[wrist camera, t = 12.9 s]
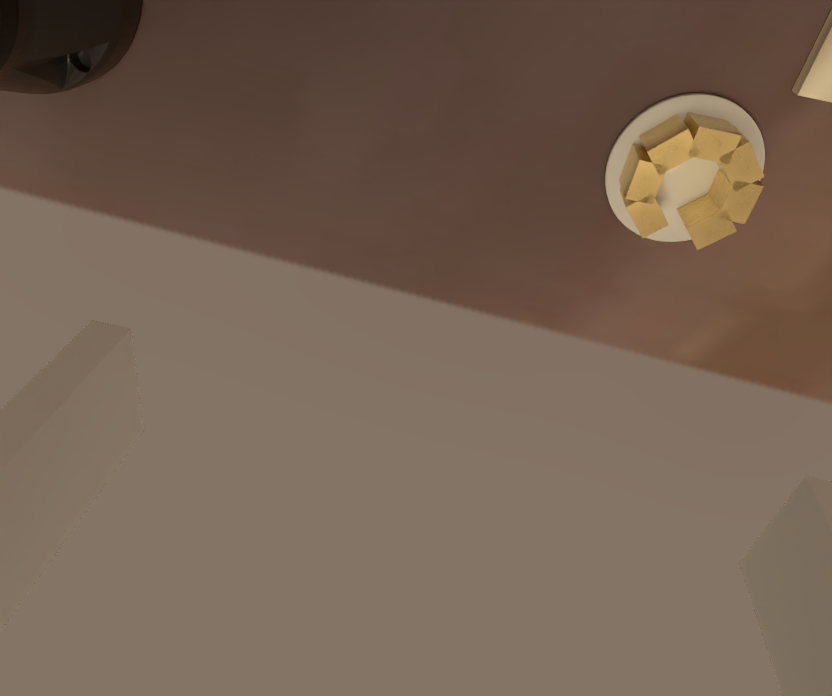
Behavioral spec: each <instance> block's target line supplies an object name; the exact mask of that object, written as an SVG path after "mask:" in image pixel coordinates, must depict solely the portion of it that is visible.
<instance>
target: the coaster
mask: <svg viewBox="0 0 832 696" xmlns="http://www.w3.org/2000/svg"><path fill="white" fill-rule="evenodd" d="M687 112H691V113H696V114H701V115H706V116H711V117H715V118H720V119H725V120H728V121H729V123H730V124H731V125H732V126H735V127H736V128H737V129H738V130H739V131H740V132H741V133H742V134H743V135H744V136H745V137H746V138H747V140H748V141H749V142H750V144H751V146H752V149H753V151H754V153H755V156H756V158H757V160H758V163H759V165H760V167H761V170H762V172H763V169H764V162H765V149H764V142H763V139H762V136H761V133H760V130H759V129H758V127H757V125H756V123H755V122H754V120H753V119H752V118H751V117H750V115H748V114H747V113H746V112H745V111H744V110H743V109H742V108H741V107H740V106H738V105H737V104H735V103H734V102H732V101H730V100H728V99H726V98H724V97H720V96H717V95H713V94H706V93H688V94H681V95H677V96H673V97H669V98H667V99H664V100H662V101H659V102H657V103H655V104H653V105H651V106H650V107H648V108H647V109H645V110H644V111H642V112H641V113H639V114H638V115H637V116H636V117H635V118H634V119H632V120H631V121H630V122H629V123H628V125H627V126H626V127H625V128H624V129H623V130H622V132H621V133H620V134H619V136H618V137H617V139H616V141H615V142H614V144H613V146H612V148H611V151H610V153H609V156H608V160H607V163H606V169H605V187H606V193H607V196H608V200H609V203H610V205H611V207H612V210H613V212H614V213H615V215H616V216H617V218H618V219H619V220H620V221H621V222H622V223H623V224H624V225H625V226H626V227H627V228H629V229H630V230H631V231H633V232H635V233H636V234H638V235H640V233H639V231H638V229H637V227H636V226H635V224H634V222H633V220H632V218H631V216H630V215H629V213H628V211H627V209H626V207H625V204H624V201H623V198H622V195H621V192H620V190H619V189H620V188H621V185H620V182H619V178H620V176H621V173H622V170H623V167H624V165H625V162H626V159H627V157H628V154H629V151H630V148H631V146H632V144H637V145H642V146H644V145H643V143H642V141H641V139H640V137H639V135H641V134H643V133H645V132H646V131H648V130H650V129H651V128H653V127H655V126H657V125H658V124H660V123H662V122H664V121H665V120H667V119H669V118H670V117H672V116H674V115H676V114H678V115H679V117H680V118H681V119H682V121H683V122H684V119H685V117H686V114H687ZM718 169H719V167H718V165H717V163H716V162H714V161H709V160H705V159H700V158H695V157H693V158H691V159H689V160H687V161H686V162H684V163H682V164H680V165H678V166H676V167H674V168H673V169H671V170H669V171H667V172H666V173H665V175H664V177H663V180H662V182H661V185H660V187H659V190H658V192H657V194H656V199H657V201H658V203H659V205H660V207H661V209H662V211H663V213H664V216H665V218H666V220H667V222H668V226H666V227H664V228H662V229H660V230H658V231H656V232H655V233H653V234H651V235H649V236H647V237H645V238H649V239H652V240H657V241H663V242H677V241H686V240H691V237H690V235H689V233H688V231H687V229H686V227H685V225H684V223H683V221H682V219H681V217H680V215H679V213H678V211H677V209H678V208H680V207H681V206H683V205H685V204H687V203H689V202H691V201H693V200H695V199H697V198H699V197H701V196H703V195H705V194H707V193H708V191H709V189H710V187H711V185H712V182H713V180H714V178H715V176H716V174H717V172H718ZM760 180H761V179H759V181H760Z"/></svg>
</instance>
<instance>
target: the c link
mask: <svg viewBox="0 0 832 696" xmlns="http://www.w3.org/2000/svg"><path fill="white" fill-rule="evenodd" d="M639 137H640V139H641V141H642V143H643V145H644V146H642V145H637V144H632V146H631V148H630V151H629V154H628V157H627V159H626V162H625V165H624V167H623V170H622V173H621V176H620V178H619V182H620V185H621V188H620V189H619V190H620V192H621V195H622V198H623V201H624V204H625V207H626V209H627V211H628V213H629V215H630V216H631V218H632V220H633V222H634V224H635V226H636V227H637V229H638V231H639V233H640V235H641V236H642V238H645V237H647V236H649V235H651V234H653V233H655V232H656V231H658V230H660V229H662V228H664V227H666V226H668V222H667V220H666V218H665V216H664V213H663V211H662V209H661V207H660V205H659V203H658V201H657V199H656V194H657V192H658V190H659V187H660V185H661V182H662V180H663V177H664V175H665V173H666V172H667V171H669V170H671V169H673V168H674V167H676V166H678V165H680V164H682V163H684V162H686V161H687V160H689V159H691V158H693V157H695V158H700V159H705V160H709V161H714V162H716V163H717V165H718V167H719V169H718V172H717V174H716V176H715V178H714V180H713V182H712V185H711V187H710V189H709V191H708V193H707V194H705V195H703V196H701V197H699V198H697V199H695V200H693V201H691V202H689V203H687V204H685V205H683V206H681V207H680V208H678V209H677V211H678V213H679V215H680V217H681V219H682V221H683V223H684V225H685V227H686V229H687V231H688V233H689V235H690V237H691V239H692V240H693V242H694V244H695V246H696V248H697V250H699V249H701V248H703V247H705V246H707V245H709V244H711V243H714V242H716V241H718V240H720V239H722V238H724V237H726V236H728V235H730V234H732V233H734V232H736V231H737V230H736V228H735V226H734V224H733V222H737V223H742V224H745V222H746V220H747V218H748V216H749V214H750V213H751V211H752V209H753V207H754V205H755V203H756V201H757V199H758V197H759V195H760V193H761V191H762V189H763V187H764V186H763V185H762V184H761V182H760V181H759V179H761V178H763V177H764V174H763V172H762V170H761V167H760V165H759V163H758V160H757V158H756V156H755V153H754V151H753V149H752V146H751V144H750V142H749V141H748V140H747V138H746V137H745V136H744V135H743V134H742V133H741V132H740V131H739V130H738V129H737V128H736V127H735V126H732V125H731V124H730V123H729V121H728V120H725V119H720V118H715V117H711V116H706V115H701V114H696V113H691V112H687V114H686V117H685V119H684V122H683V121H682V119H681V118H680V117H679V115H678V114H676V115H674V116H672V117H670V118H669V119H667V120H665V121H664V122H662V123H660V124H658V125H657V126H655V127H653V128H651V129H650V130H648V131H646V132H645V133H643V134H641V135H639ZM732 221H733V222H732Z"/></svg>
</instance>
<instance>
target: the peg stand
mask: <svg viewBox="0 0 832 696" xmlns="http://www.w3.org/2000/svg"><path fill="white" fill-rule="evenodd" d="M792 92H794V93H795V94H797V95H799V96H804V97H808V98H813V99H818V100H823V101H828V102H832V9H831V11H830V13H829V15H828V18H827V20H826V22H825V24H824V26H823V28H822V30H821V32H820V34H819V36H818V38H817V40H816V42H815V44H814V46H813V48H812V50H811V52H810V54H809V56H808V58H807V60H806V62H805V64H804V66H803V68H802V70H801V72H800V74H799V76H798V78H797V80H796V82H795V84H794V86H793V89H792Z"/></svg>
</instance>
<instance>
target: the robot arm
mask: <svg viewBox="0 0 832 696" xmlns="http://www.w3.org/2000/svg"><path fill="white" fill-rule="evenodd" d="M141 4H142V0H0V90H4V91H12V92H21V93H30V94H49V93H57V92H62V91H66V90H70V89H73V88H75V87H78V86H80V85H83V84H85V83H88V82H90V81H92V80H95V79H97V78H99V77H100V76H102V75H104V74H105V73H107V72H108V71H109V70H110V69H112V68H113V67H114V66H115V65H116V64H117V63H118V62H119V60H120V59H121V58H122V57H123V55H124V54H125V52H126V51H127V49H128V47H129V46H130V44H131V42H132V39H133V37H134V35H135V32H136V29H137V26H138V22H139V17H140V12H141ZM143 432H144V429H143V422H142V413H141V405H140V397H139V388H138V381H137V372H136V363H135V355H134V347H133V338H132V330H131V328H127V327H122V326H118V325H113V324H108V323H104V322H99V321H94V320H92V321H91V322H90V323H89V324H88V325H87V326H86V327H85V328H84V329H83V330H82V331H81V332H80V333H79V334H78V335H77V336H76V337H75V338H74V339H73V340H72V341H71V342H70V343H69V344H67V345H66V346H65V347H64V348H63V349H62V350H61V351H60V352H59V353H58V354H57V355H56V356H55V357H54V358H53V359H52V360H51V361H50V362H49V363H48V364H47V365H46V366H45V367H44V368H43V369H42V370H41V371H40V372H39V373H38V374H37V375H36V376H35V377H33V378H32V379H31V380H30V381H29V382H28V383H27V384H26V385H25V386H24V387H23V388H22V389H21V390H20V391H19V392H18V393H17V394H16V395H15V396H14V397H13V398H12V399H11V400H10V401H9V402H8V403H7V404H6V405H5V406H4V407H3V408H2V409H1V410H0V632H1V630H2V629H3V627H4V626H5V625H6V623H7V622H8V621H9V619H10V618H11V616H12V615H13V613H14V612H15V611H16V609H17V608H18V607H19V605H20V604H21V602H22V601H23V599H24V598H25V597H26V595H27V594H28V592H29V591H30V590H31V588H32V587H33V586H34V584H35V583H36V581H37V580H38V579H39V577H40V576H41V574H42V573H43V572H44V570H45V569H46V567H47V566H48V565H49V563H50V562H51V560H52V559H53V557H54V556H55V555H56V553H57V552H58V551H59V549H60V548H61V546H62V545H63V544H64V542H65V541H66V540H67V538H68V537H69V535H70V534H71V533H72V531H73V530H74V528H75V527H76V526H77V524H78V523H79V521H80V520H81V519H82V517H83V516H84V514H85V513H86V512H87V510H88V509H89V507H90V506H91V505H92V503H93V502H94V500H95V499H96V498H97V496H98V495H99V493H100V492H101V491H102V489H103V488H104V486H105V485H106V484H107V482H108V481H109V479H110V478H111V477H112V475H113V474H114V472H115V471H116V470H117V468H118V467H119V465H120V464H121V463H122V461H123V460H124V458H125V457H126V456H127V454H128V453H129V452H130V450H131V449H132V447H133V446H134V445H135V443H136V441H137V440H138V439H139V437H140V436H141V435H142V433H143ZM739 565H740V569H741V571H742V575H743V578H744V581H745V584H746V587H747V590H748V593H749V596H750V599H751V602H752V605H753V608H754V611H755V614H756V617H757V620H758V623H759V626H760V629H761V633H762V636H763V639H764V642H765V645H766V648H767V651H768V654H769V657H770V660H771V663H772V666H773V669H774V672H775V675H776V678H777V682H778V685H779V688H780V691H781V694H782V696H832V481H828V480H824V479H819V478H815V477H810V476H805V477H804V479H803V480H802V481H801V483H800V484H799V485H798V486H797V488H796V489H795V490H794V492H793V493H792V494H791V496H790V497H789V498H788V499H787V501H786V502H785V503H784V505H783V506H782V507H781V508H780V510H779V511H778V512H777V514H776V515H775V516H774V518H773V519H772V520H771V521H770V523H769V524H768V525H767V527H766V528H765V529H764V531H763V532H762V533H761V534H760V536H759V537H758V538H757V540H756V541H755V542H754V544H753V545H752V546H751V547H750V549H749V550H748V551H747V553H746V554H745V555H744V557H743V558H742V559H741V560H740V562H739Z"/></svg>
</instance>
